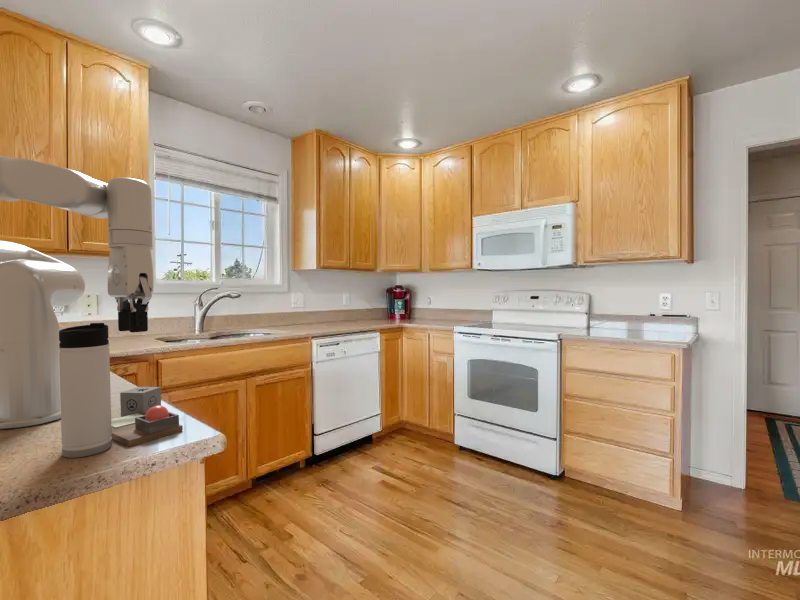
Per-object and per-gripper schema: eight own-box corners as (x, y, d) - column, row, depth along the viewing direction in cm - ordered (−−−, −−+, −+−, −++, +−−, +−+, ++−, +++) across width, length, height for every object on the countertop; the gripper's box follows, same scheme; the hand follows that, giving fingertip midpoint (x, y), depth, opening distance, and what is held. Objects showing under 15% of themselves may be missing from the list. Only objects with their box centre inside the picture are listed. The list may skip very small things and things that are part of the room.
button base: (92, 429, 74) (91, 413, 74) (143, 417, 81) (143, 402, 81) (129, 446, 66) (128, 428, 66) (182, 431, 73) (182, 414, 73)
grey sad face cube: (143, 417, 81) (142, 393, 81) (120, 417, 82) (120, 392, 82) (161, 410, 86) (160, 387, 86) (139, 410, 87) (138, 386, 87)
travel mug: (122, 441, 68) (118, 322, 68) (93, 458, 61) (90, 325, 61) (83, 442, 68) (80, 323, 67) (51, 459, 61) (47, 326, 61)
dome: (141, 428, 71) (141, 406, 71) (163, 422, 74) (162, 401, 74) (151, 431, 69) (150, 409, 69) (173, 426, 72) (172, 404, 72)
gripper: (92, 242, 84) (94, 331, 85) (128, 235, 75) (131, 335, 75) (132, 246, 90) (134, 328, 91) (170, 239, 81) (172, 331, 81)
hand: (133, 330), depth 83 cm, fingers open, 4 cm apart
